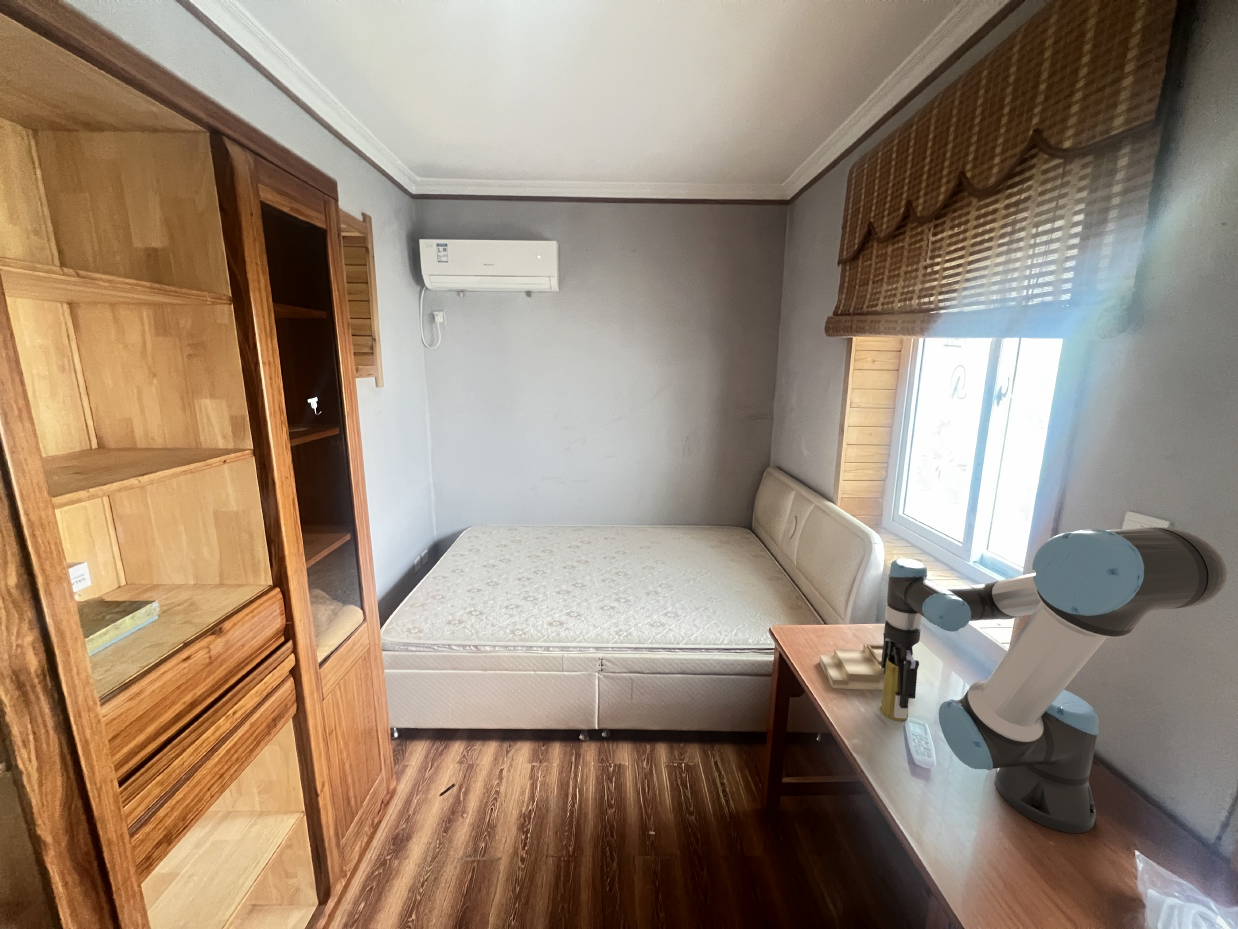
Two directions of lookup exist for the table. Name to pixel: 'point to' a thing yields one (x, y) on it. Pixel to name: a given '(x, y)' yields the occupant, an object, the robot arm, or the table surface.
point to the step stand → (855, 668)
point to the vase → (890, 691)
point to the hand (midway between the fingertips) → (894, 708)
